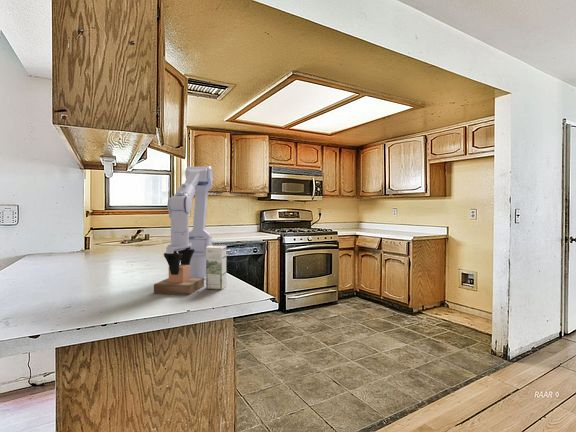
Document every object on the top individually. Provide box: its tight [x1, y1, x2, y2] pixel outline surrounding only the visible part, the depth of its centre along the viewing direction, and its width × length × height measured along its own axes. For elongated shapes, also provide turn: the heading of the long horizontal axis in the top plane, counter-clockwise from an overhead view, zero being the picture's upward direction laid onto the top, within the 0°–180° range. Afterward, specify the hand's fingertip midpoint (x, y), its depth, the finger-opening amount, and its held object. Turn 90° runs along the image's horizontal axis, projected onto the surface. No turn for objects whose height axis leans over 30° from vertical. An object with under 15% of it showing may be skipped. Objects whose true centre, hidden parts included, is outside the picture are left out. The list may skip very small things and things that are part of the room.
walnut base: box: [153, 277, 205, 296], centre depth 112 cm, size 12×12×3 cm
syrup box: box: [205, 244, 227, 290], centre depth 115 cm, size 6×6×14 cm
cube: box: [168, 264, 190, 283], centre depth 112 cm, size 5×5×5 cm
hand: (180, 272), depth 112 cm, fingers open, 7 cm apart
